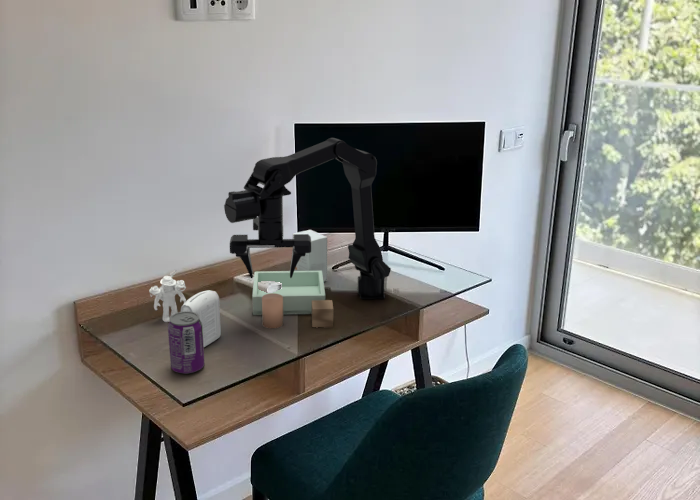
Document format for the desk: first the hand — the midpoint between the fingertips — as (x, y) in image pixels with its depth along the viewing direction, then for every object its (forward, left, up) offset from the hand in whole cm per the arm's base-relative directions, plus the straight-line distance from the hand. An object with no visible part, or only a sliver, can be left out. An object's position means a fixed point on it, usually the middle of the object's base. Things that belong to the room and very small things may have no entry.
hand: (271, 277), depth 173 cm
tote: (-4, -13, -12) cm, 18 cm away
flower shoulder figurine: (+25, -4, -12) cm, 28 cm away
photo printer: (+16, +9, -12) cm, 22 cm away
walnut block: (-12, 0, -12) cm, 17 cm away
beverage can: (+18, +20, -12) cm, 30 cm away
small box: (-10, -27, -12) cm, 31 cm away
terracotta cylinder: (0, 0, -12) cm, 12 cm away
